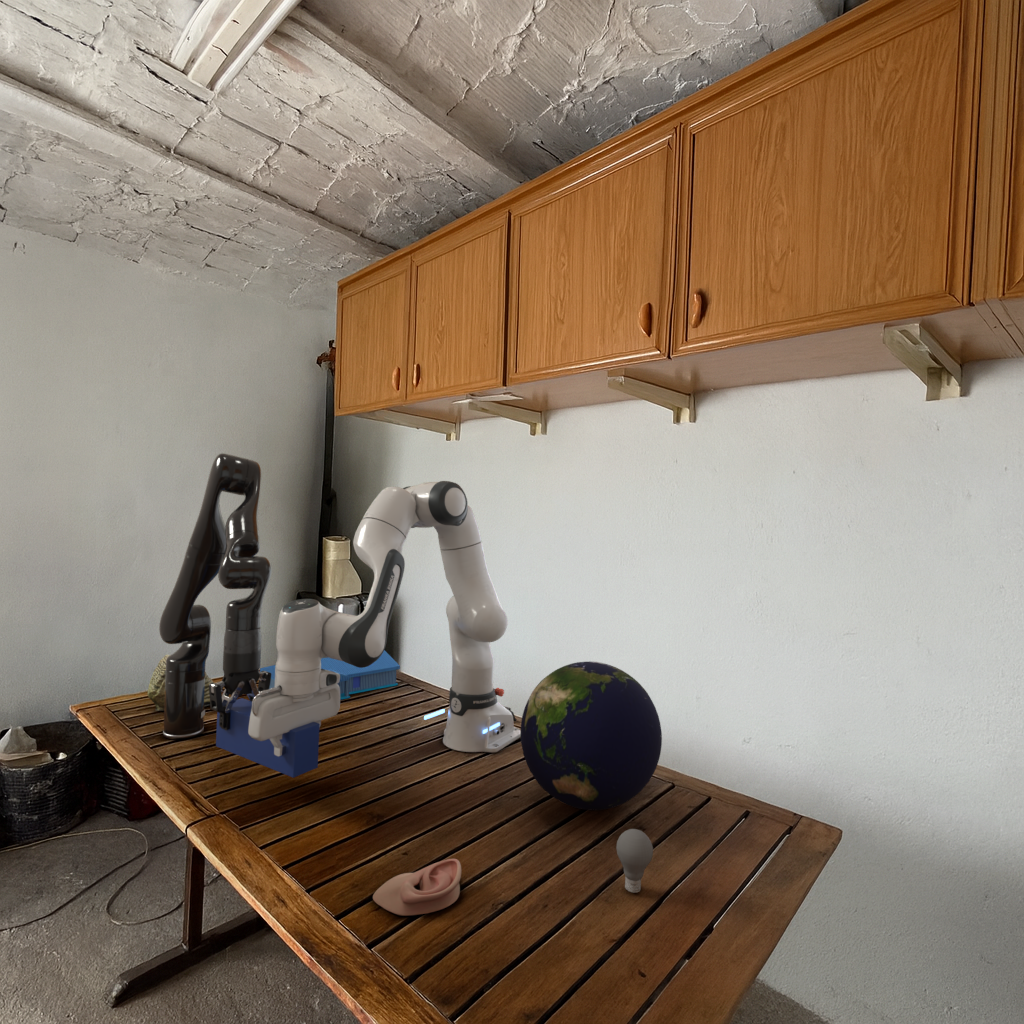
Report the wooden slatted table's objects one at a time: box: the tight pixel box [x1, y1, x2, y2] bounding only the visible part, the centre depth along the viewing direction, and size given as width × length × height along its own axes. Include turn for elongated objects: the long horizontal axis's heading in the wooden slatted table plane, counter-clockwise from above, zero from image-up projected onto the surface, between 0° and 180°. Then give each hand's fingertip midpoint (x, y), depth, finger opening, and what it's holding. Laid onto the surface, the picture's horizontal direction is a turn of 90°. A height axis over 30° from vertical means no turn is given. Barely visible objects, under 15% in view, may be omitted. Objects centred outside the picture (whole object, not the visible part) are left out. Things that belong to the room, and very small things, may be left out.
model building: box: [259, 649, 401, 701], centre depth 208 cm, size 39×24×10 cm, turn 132°
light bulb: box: [615, 828, 654, 894], centre depth 106 cm, size 6×6×10 cm
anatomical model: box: [372, 858, 462, 917], centre depth 102 cm, size 13×4×12 cm
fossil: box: [147, 654, 215, 712], centre depth 185 cm, size 9×18×15 cm, turn 132°
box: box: [215, 697, 321, 779], centre depth 133 cm, size 25×6×9 cm, turn 58°
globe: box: [520, 660, 663, 811], centre depth 136 cm, size 30×30×30 cm
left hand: (239, 724), depth 138 cm, fingers closed on box, 6 cm apart
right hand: (295, 748), depth 128 cm, fingers closed on box, 6 cm apart
